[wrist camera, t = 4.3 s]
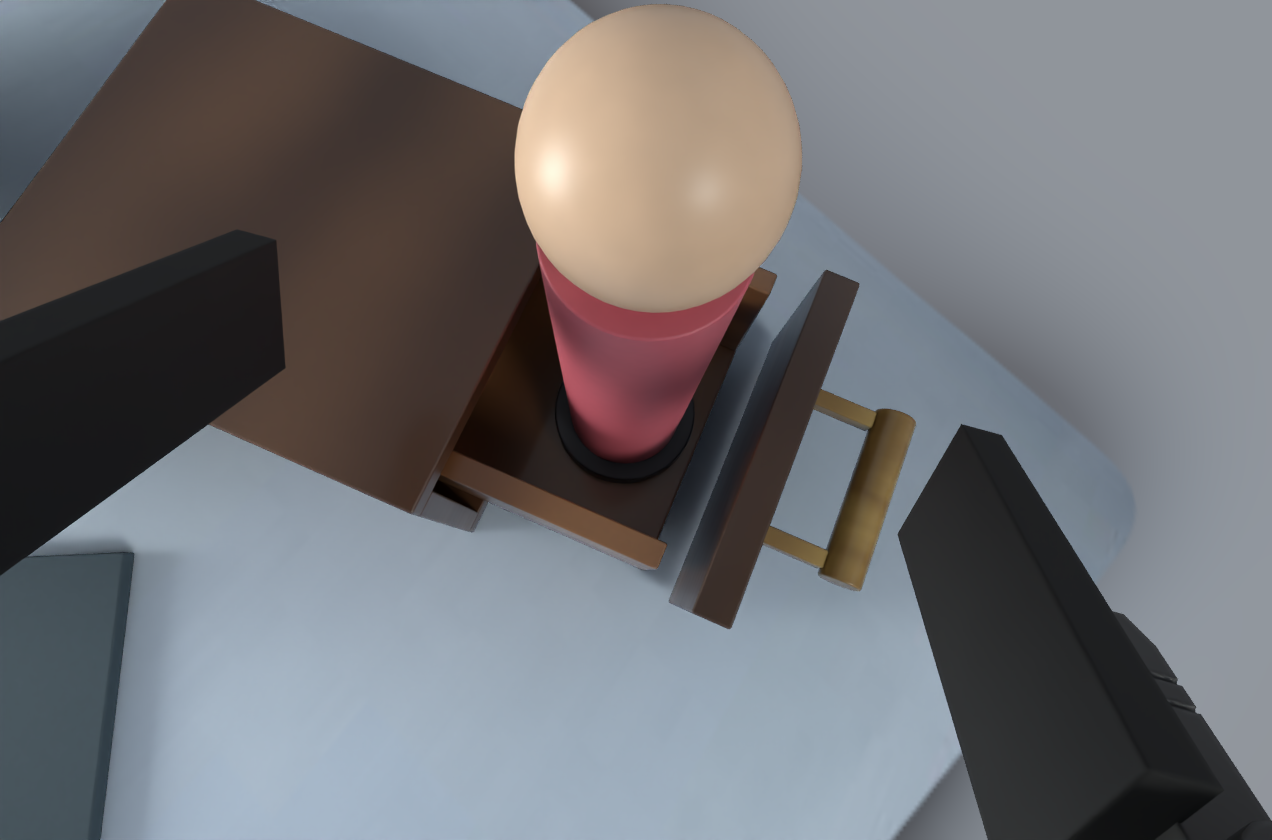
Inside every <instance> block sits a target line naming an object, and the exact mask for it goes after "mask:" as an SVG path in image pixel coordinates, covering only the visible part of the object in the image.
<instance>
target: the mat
mask: <svg viewBox="0 0 1272 840" xmlns="http://www.w3.org/2000/svg"><path fill="white" fill-rule="evenodd" d="M133 561H134V553H128V552H120V553H98V554H77V555H55V556H34V557H25V558H24V559H23V560H21V561H20V562H19V563H17V564H16V565H14V566H13V567H12V568H10V569H9V570H8V571H6V572H5V573H3V574H2V575H1V576H0V840H100V838H101V829H102V821H103V813H104V804H105V796H106V787H107V779H108V771H109V762H110V754H111V745H112V737H113V729H114V720H115V712H116V704H117V695H118V687H119V678H120V670H121V662H122V653H123V645H124V637H125V628H126V620H127V611H128V603H129V595H130V586H131V578H132V569H133Z"/></svg>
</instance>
